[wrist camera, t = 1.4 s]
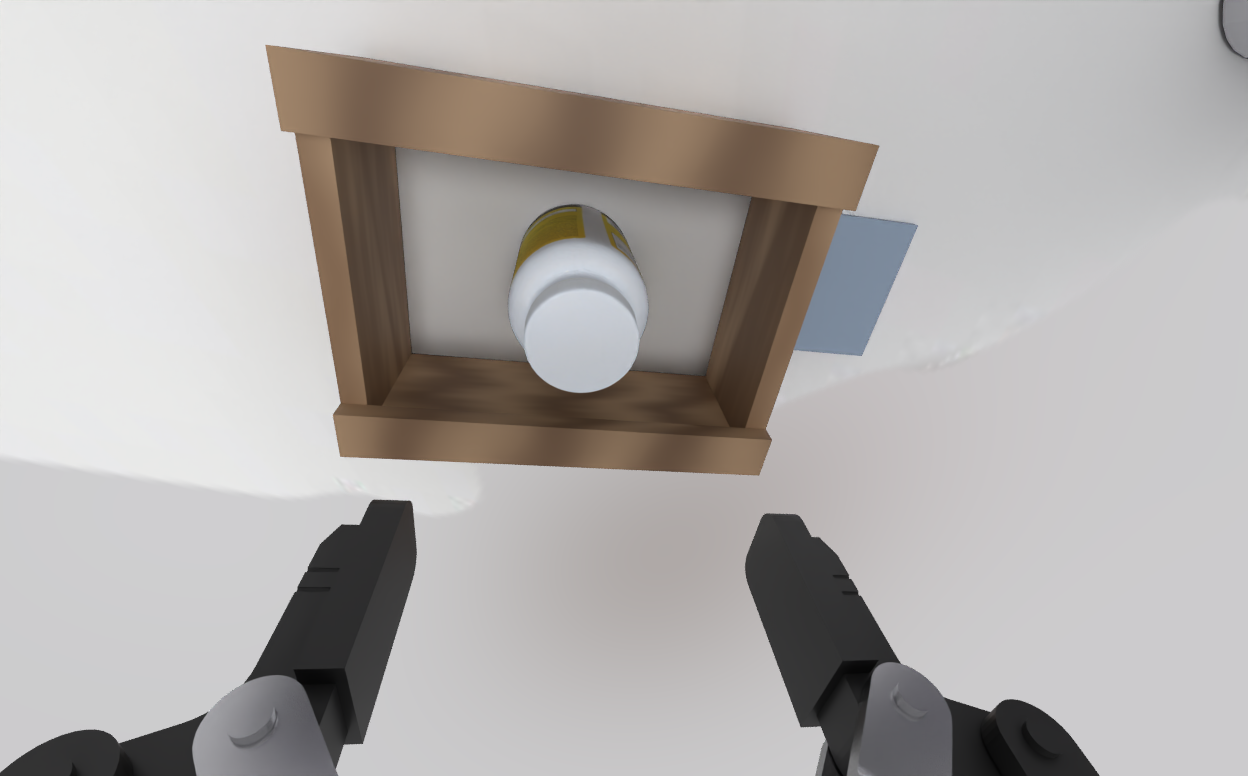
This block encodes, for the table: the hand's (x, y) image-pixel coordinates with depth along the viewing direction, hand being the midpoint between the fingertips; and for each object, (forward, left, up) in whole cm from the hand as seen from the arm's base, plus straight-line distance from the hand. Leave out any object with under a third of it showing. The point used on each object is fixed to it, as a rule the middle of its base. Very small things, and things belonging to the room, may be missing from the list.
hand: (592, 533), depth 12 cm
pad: (-16, 0, -22) cm, 27 cm away
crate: (0, 0, -22) cm, 22 cm away
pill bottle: (0, 0, -22) cm, 22 cm away
